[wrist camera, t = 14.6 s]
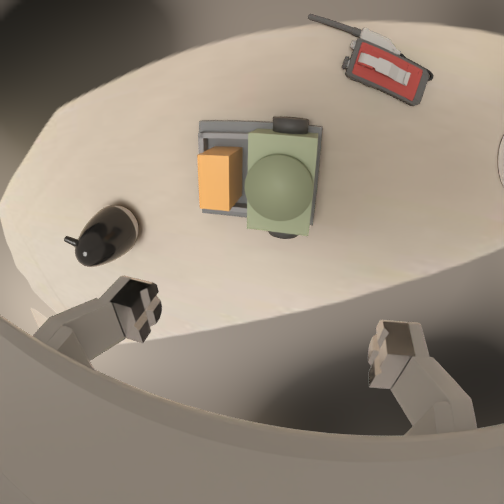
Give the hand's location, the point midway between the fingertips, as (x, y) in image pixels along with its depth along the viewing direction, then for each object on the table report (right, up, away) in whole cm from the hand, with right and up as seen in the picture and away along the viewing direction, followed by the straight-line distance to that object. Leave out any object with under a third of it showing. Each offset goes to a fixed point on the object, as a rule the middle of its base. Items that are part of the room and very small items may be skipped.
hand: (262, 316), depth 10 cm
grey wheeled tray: (+1, +15, +35) cm, 38 cm away
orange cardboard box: (-4, +15, +35) cm, 38 cm away
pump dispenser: (-27, +9, +46) cm, 54 cm away
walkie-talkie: (+16, +30, +22) cm, 41 cm away
